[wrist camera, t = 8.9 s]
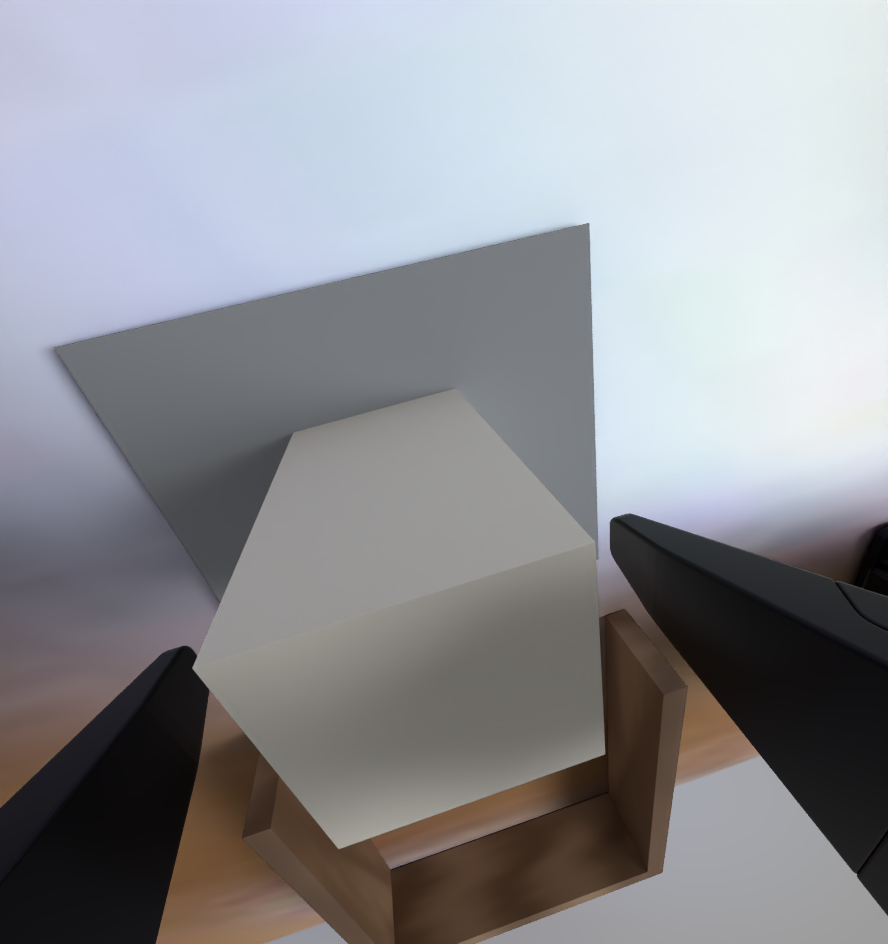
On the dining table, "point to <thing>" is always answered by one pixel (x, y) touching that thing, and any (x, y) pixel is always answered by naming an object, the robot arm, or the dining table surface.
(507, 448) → the block
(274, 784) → the u-shaped frame
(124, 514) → the dining table surface
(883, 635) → the robot arm
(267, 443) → the mat
